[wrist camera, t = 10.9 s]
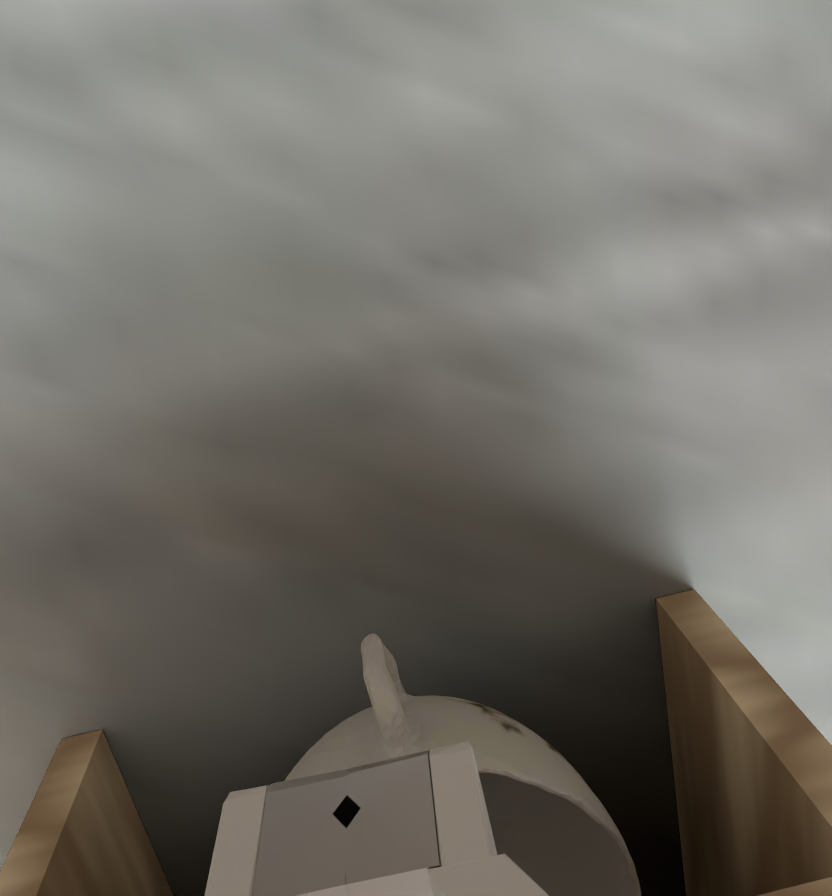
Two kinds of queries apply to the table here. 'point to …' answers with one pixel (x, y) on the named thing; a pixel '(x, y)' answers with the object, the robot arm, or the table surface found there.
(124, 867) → the wooden bridge shelf
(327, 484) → the table surface
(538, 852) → the teacup
